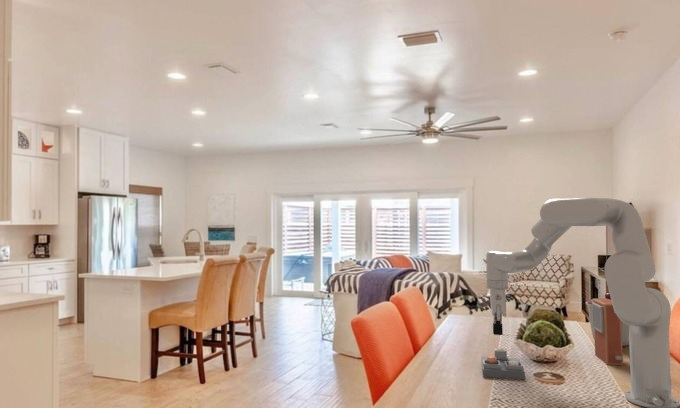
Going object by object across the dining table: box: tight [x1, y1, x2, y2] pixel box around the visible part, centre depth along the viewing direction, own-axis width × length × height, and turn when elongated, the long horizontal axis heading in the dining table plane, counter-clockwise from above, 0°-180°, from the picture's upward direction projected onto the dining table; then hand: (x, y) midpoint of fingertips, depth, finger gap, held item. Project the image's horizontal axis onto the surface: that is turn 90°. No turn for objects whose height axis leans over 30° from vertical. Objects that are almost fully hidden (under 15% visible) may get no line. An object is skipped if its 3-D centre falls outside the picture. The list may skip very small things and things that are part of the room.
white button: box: [508, 360, 519, 366], centre depth 156 cm, size 3×3×2 cm
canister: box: [585, 292, 630, 347], centre depth 195 cm, size 18×18×21 cm
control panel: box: [592, 298, 624, 366], centre depth 172 cm, size 21×7×15 cm
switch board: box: [481, 354, 526, 381], centre depth 160 cm, size 15×13×4 cm
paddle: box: [493, 348, 508, 360], centre depth 166 cm, size 2×4×3 cm, turn 75°
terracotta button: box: [486, 355, 497, 363], centre depth 158 cm, size 3×3×2 cm
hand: (497, 334), depth 172 cm, fingers closed
